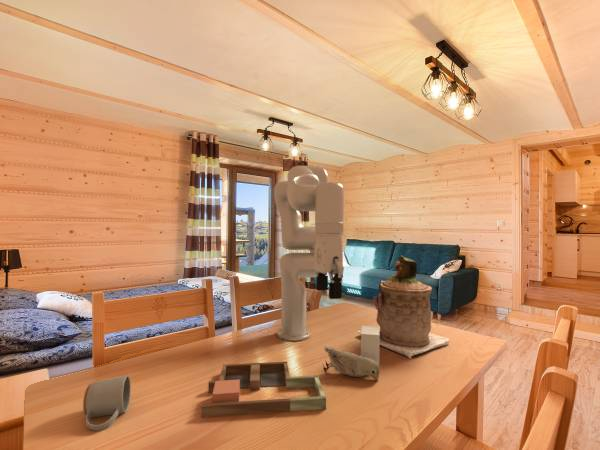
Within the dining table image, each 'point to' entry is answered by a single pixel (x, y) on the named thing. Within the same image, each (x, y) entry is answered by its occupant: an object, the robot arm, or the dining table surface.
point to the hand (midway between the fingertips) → (328, 294)
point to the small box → (370, 343)
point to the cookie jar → (405, 312)
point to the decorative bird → (351, 363)
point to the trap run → (269, 377)
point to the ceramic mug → (106, 400)
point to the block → (226, 391)
